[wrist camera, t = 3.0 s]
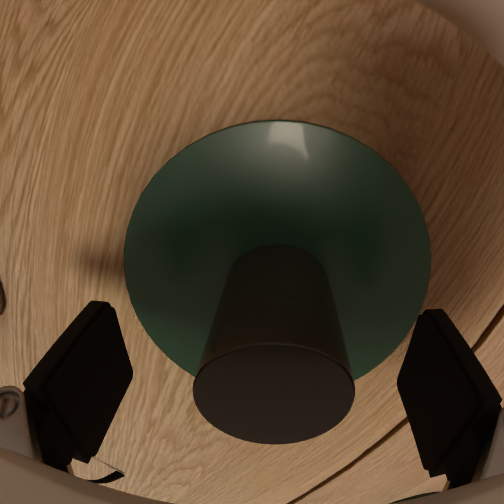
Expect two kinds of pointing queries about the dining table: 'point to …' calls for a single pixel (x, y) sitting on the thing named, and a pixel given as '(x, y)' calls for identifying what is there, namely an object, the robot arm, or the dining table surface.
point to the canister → (415, 497)
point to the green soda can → (1, 299)
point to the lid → (277, 273)
